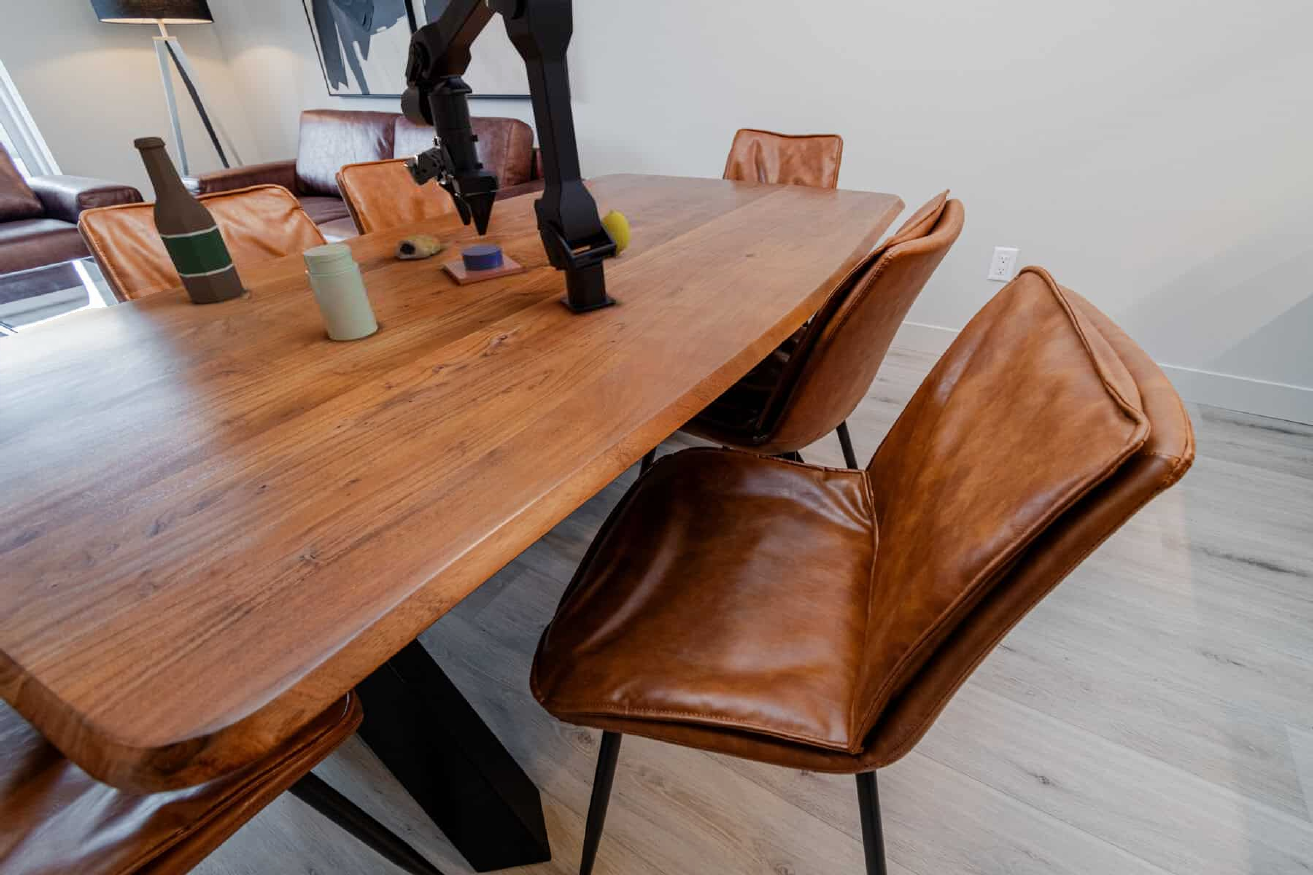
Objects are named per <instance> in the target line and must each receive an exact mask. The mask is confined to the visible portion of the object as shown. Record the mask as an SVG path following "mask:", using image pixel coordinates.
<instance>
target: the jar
mask: <svg viewBox="0 0 1313 875" xmlns="http://www.w3.org/2000/svg"><path fill="white" fill-rule="evenodd" d="M302 257H303V259H304V262H305V265H306V267H307V269H306V270H305V275H306V277H307V280H308V283H309V285H310V290H312V294H313V296H314V299H315V302H316V305H317V308H318V311H319V313H320V316H321V320H322V321H323V324H324V327H325V329H326V332H327V335H328V338H329V339H331V340H333V341H339V342H341V341H343V342H344V341H352V340H353V341H354V340H357V339H362V338H365V337H367V336H369V335H371V334H374V333H375V332H376V331H377V330H378V329H379V326H378V322H377V319H376V316H375V313H374V309H373V307H372V304H371V300H370V297H369V294H368V291H367V288H366V285H365V282H364V278H363V274H362V272H361V268H360V266H359V263H358V262H356V261H355V260H354V258H353V254H352V248H351V247H350V246H349V245H348V244H345V243H332V244H325V245H319V246H315V247H311V248H308V249H306V250H304V251H303V252H302Z"/></svg>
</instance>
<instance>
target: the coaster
mask: <svg viewBox="0 0 1313 875" xmlns="http://www.w3.org/2000/svg"><path fill="white" fill-rule="evenodd" d="M502 255H503V261H504V263H503V264H502V265H501V266H499V267H496V268H493V269H488V270H468V269H465V267H464V264H463V259H461V260H455V261H451V262H446V263H443V269H444V270H445V271H446V272H447V273H448V274H449V275H450V276H451V277H452V278H453V279H454V280H455V281H456V282H457V283H458V284H459V285H467V284H470V283H476V282H481V281H486V280H492V279H495V278H501V277H506V276H510V275H515V274H519V273H523V272H524V270H523V266H522V265H521V264H520V263H518V262H516V261H515V260H513V259H512V258H510V256H507V255H506V254H505V253H503V252H502Z"/></svg>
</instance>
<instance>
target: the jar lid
mask: <svg viewBox="0 0 1313 875" xmlns="http://www.w3.org/2000/svg"><path fill="white" fill-rule="evenodd" d="M502 253H503V250H502V246H500V245H498V244H479V245H478V244H477V245H473V246H469V247H465V248H464V249H462V250H461V251H460V254H461V260H463V264H464V267H465V269H468V270H488V269H493V268H496V267H499V266H501V265H502V264H503V263H504V261H503V255H502Z"/></svg>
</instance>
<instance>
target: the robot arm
mask: <svg viewBox="0 0 1313 875" xmlns="http://www.w3.org/2000/svg"><path fill="white" fill-rule="evenodd" d="M573 12H574V11H573V0H449V1H448V3H447V5H446V6H445V8H444V9H443V11H442V13H441V14H440V16H439V17H438V18H437V19H436V20H434V21H431V22H429V23H426V24H424V25H422V26H421V27H419V28H418V29H417V30H416V31H415V32H414V33H413V34H412V36H411V37H410V42H409V45H408V54H407V63H406V68H405V71H404V76H405V78H406V80H405V83H406V87H407V88H406V89H405V90H404V91H403V92H402V95H401V99H400V109H401V111H402V113H403V116H404V118H405V119H406V120H407V121H408V122H409V123H411V124H412V125H414V126H419V127H432V128H434V132H435V135H433V138H431V139H432V145H433V147H431V148H429V149H427V150H422V151H421V152H420V153H419V154H416V155H414V157H412V158H409V159H408V160H406V161H405V162H404V163H403V165H404V167H405V169H406V171H407V172H408V174H409V175H410V177H411V179H412V181H413V182H414V183H415V184H416V185H418V186H422V185H423V186H424V185H426V184H427V183H429V181H430V180H431V179H433V180H434V181H435V182H436V184H437V186H438V187H440V188H442V189H443V191H445V192H447V193H448V194H449V196H450V198H451V200H452V202H453V204H454V207H455V209H456V212H457V213H458V215H459V218H460V220H461V222H462V224H463V226H464V227H465V226H470V225H471V224H472V223H471V222H472V221H473V224H474V227H475V230H476V232H477V234H478V236H479V237H481V236H486V235H487V230H488V227H489V222H490V218H491V214H492V211H493V210H492V209H493V206H494V203H495V199H496V196H497V195H498V191H499V190H501V189H500V188H501V187H500V183H499V177H498V175H496V174H495V173H494V172H493V171H492V170H489V169H487V168H484V163H483V162H481V161H480V160H479V156H478V150H477V144H476V143H477V142H479V137H478V136H479V135H478V134H477V133H474V128H473V123H472V118H471V112H470V108H469V102H468V96H467V95H471V94H473V88H472V87H471V86H470V85H469V84H468V83H466V82H465V81H464V79H463V78H462V77H463V76H465V74H466V72H467V70H468V68H469V65H470V64H471V61H472V58H473V57H472V56H473V55H472V52H471V47H472V45H473V43H474V42H475V41H476V39H478V37H479V35H480V34H481V33H482V31H483V30H484V29H485V27H486V26H487V25H488V23H490V21H491V20H492V18H493V17H494V16H495V14H496V13H497V14H499V15H500V16H501V17H502V21H503V24H504V28H505V33H506V36H507V38H508V40H509V41H510V43H511V44H512V45H513V47H514V49H515V50H516V51H517V53H518V54H519V56H520V57H521V59H522V60H523V62H524V65H525V70H526V71H525V72H526V77H527V82H528V89H529V95H530V100H531V101H530V102H531V107H532V111H533V118H534V124H535V131H536V136H537V142H538V148H539V154H540V161H541V166H542V171H543V178H544V188H543V192H542V194H541V197H539V198H535V199H534V202H533V209H534V212H535V216H536V223H537V224H536V229H537V231H539V236H540V239H541V242H542V245H543V248H544V250H545V254H546V257H547V259H548V262H549V265H550V267H552V268H555V271H559V272H560V271H561V272H562V271H564V277H565V279H564V280H565V287H566V294H567V296H562V297H560V298H559V302H560V303H562V304H563V305H564V306H566V307H567V308H568V309H570V310H571V311H573V312H574V313H576V314H579V313H583V312H588V311H592V310H596V309H600V308H601V309H602V308H605V307H609V306H613V305H616V304H617V300H616V299H614V298H613V297H611V296H610V295H609V294H607V288H606V287H607V286H606V277H605V266H604V261H606V260H608V259H614V258H615V257H616V256H615V255H616V249H617V244H616V242H615V241H614V239H613V238H612V236H611V235H610V233H609V232H608V230H607V229H606V227H605V226H604V224H603V223H602V222H601V220H602V219H601V218H600V214H599V211H598V210H599V209H598V205H597V202H596V200H595V198H594V197H593V194H592V193H591V192H590V191H589V189H588V188H587V186H586V185H585V184H584V182H583V180H582V173H581V166H580V160H579V152H578V145H577V137H576V131H575V124H574V115H573V109H572V102H571V94H570V87H569V80H568V73H567V66H566V65H567V64H566V56H567V52H568V50H569V46H570V43H571V40H572V37H573V34H574V15H573V14H574V13H573ZM586 247H589V248H587V249H582V248H586ZM579 249H582V250H579ZM576 250H579V251H577V252H574V253H573V251H576Z"/></svg>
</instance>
